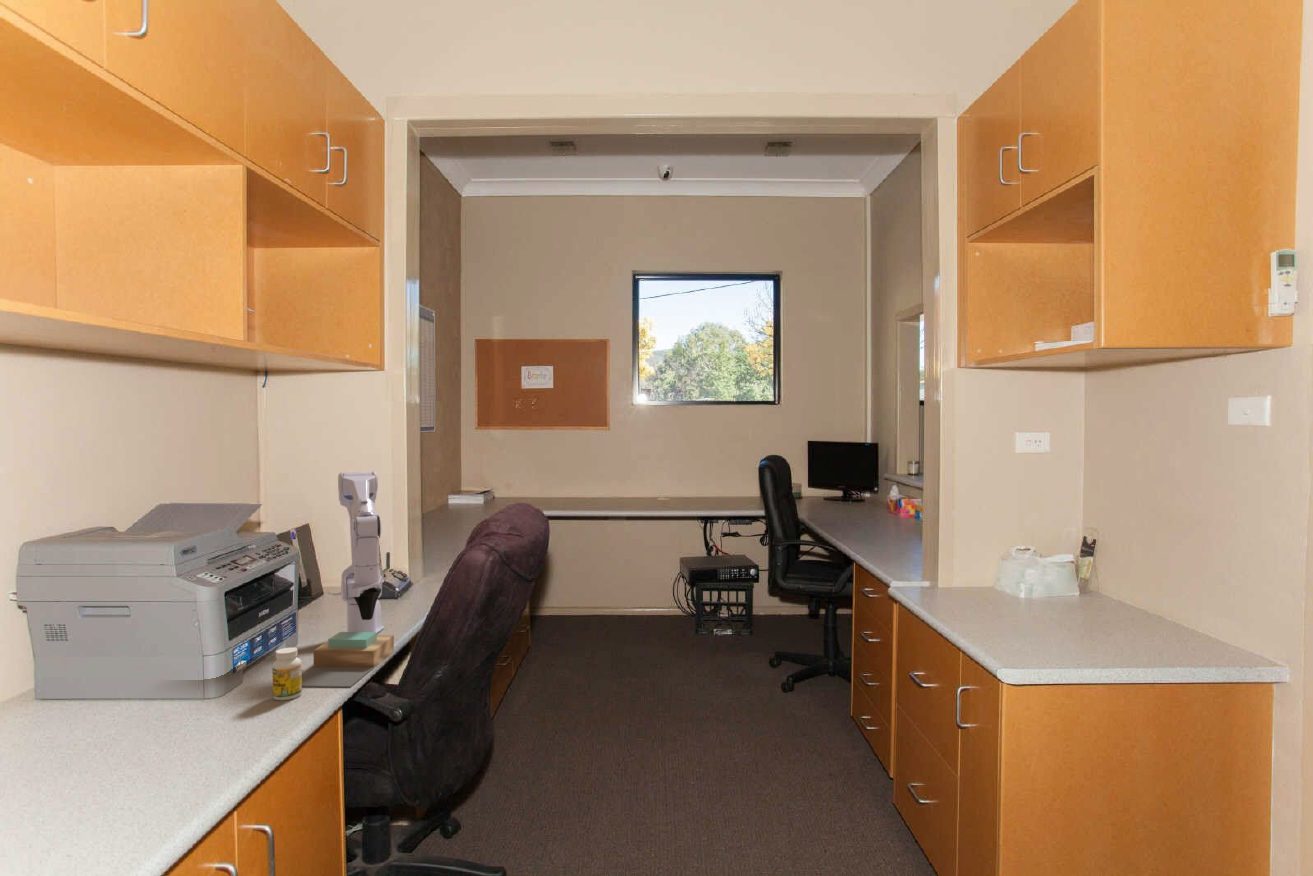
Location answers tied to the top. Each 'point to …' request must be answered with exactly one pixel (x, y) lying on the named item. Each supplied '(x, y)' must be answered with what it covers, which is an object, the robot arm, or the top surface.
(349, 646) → the mint green block
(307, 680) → the mat
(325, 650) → the wooden block
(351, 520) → the robot arm
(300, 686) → the supplement bottle
